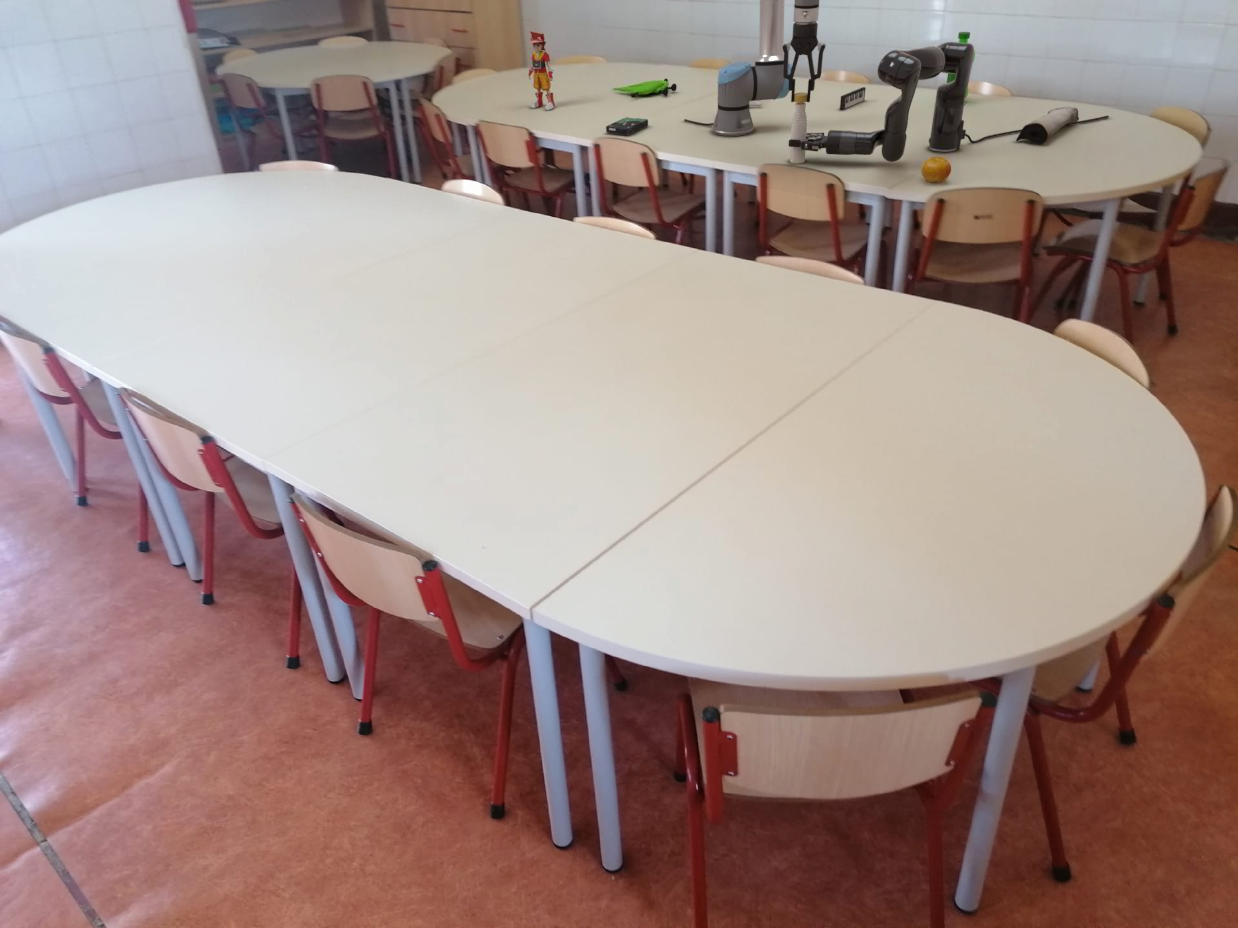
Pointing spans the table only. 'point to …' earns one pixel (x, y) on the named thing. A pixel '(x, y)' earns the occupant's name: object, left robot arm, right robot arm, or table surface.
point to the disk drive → (627, 126)
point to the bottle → (798, 133)
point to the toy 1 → (541, 71)
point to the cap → (800, 97)
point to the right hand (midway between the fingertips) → (790, 140)
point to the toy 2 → (648, 88)
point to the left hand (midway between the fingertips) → (800, 101)
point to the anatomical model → (754, 103)
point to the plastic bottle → (962, 39)
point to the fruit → (936, 169)
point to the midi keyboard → (852, 98)
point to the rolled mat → (1048, 125)
